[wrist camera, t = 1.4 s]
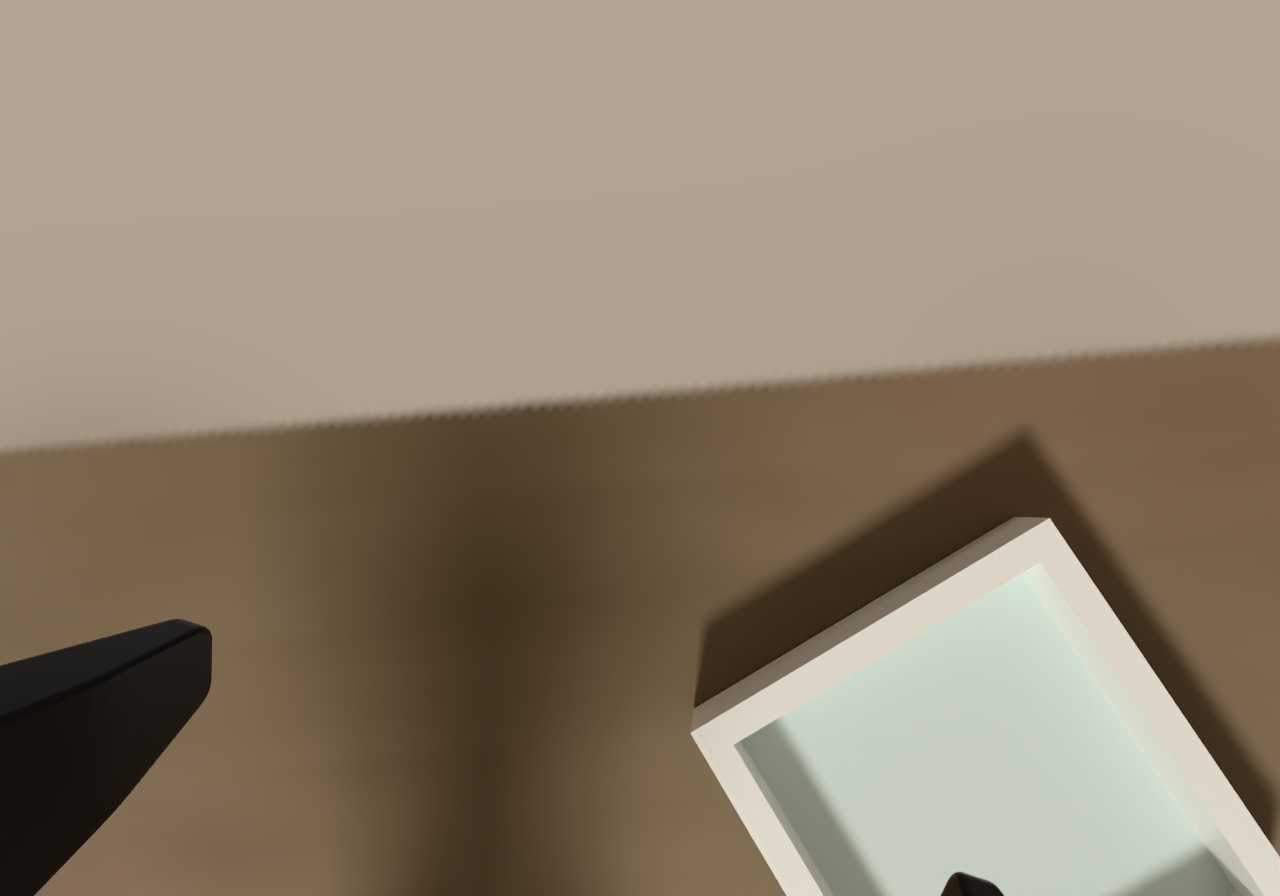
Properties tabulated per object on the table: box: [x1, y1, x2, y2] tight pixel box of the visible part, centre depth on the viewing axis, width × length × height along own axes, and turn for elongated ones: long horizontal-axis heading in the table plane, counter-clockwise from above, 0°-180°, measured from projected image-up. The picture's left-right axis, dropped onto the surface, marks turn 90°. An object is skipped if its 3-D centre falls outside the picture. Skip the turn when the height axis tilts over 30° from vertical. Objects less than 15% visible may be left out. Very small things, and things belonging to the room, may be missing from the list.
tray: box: [690, 517, 1280, 896], centre depth 20 cm, size 12×11×2 cm
